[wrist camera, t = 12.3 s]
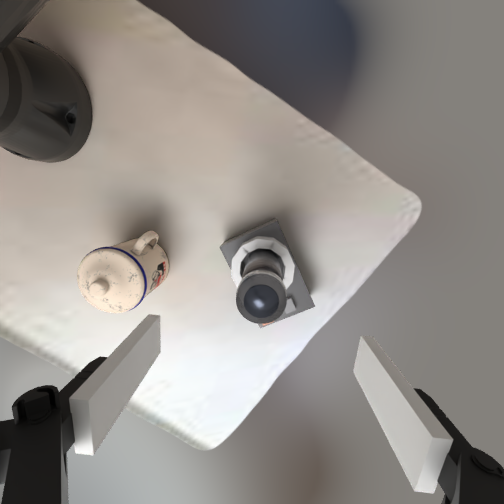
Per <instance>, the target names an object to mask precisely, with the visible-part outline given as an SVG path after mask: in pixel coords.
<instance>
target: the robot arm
mask: <svg viewBox="0 0 504 504" xmlns="http://www.w3.org/2000/svg"><path fill="white" fill-rule="evenodd" d="M48 1H49V0H0V146H1V147H3V148H4V149H6V150H7V151H9V152H11V153H13V154H15V155H17V156H20V157H22V158H26V159H29V160H35V161H41V162H59V161H63V160H66V159H68V158H70V157H72V156H73V155H74V154H76V153H77V152H78V151H79V150H80V149H81V147H82V146H83V145H84V143H85V141H86V139H87V137H88V135H89V132H90V127H91V121H92V111H91V103H90V99H89V95H88V92H87V89H86V87H85V85H84V83H83V81H82V79H81V78H80V76H79V75H78V73H77V72H76V71H75V69H74V68H73V67H72V66H71V65H70V64H69V63H68V62H67V61H66V60H64V59H63V58H62V57H60V56H59V55H57V54H56V53H54V52H53V51H52V50H50V49H49V48H47V47H45V46H44V45H42V44H40V43H38V42H35V41H33V40H29V39H26V38H21V37H16V36H17V35H18V34H19V33H20V32H21V31H22V30H23V29H24V27H25V26H26V25H27V24H28V23H29V22H30V21H31V20H32V19H33V18H34V16H35V15H36V14H37V13H38V12H39V11H40V10H41V9H42V8H43V7H44V6H45V4H46V3H47V2H48ZM159 353H160V315H150V314H149V315H148V316H147V317H146V318H145V319H144V320H143V321H142V322H141V323H140V324H139V325H138V326H137V327H136V328H135V329H134V330H133V331H132V333H131V334H130V335H129V336H128V337H127V338H126V339H125V340H124V341H123V342H122V343H121V344H120V345H119V346H118V347H117V348H116V349H115V350H114V352H113V353H112V354H111V355H110V356H109V357H98V358H97V359H95V360H93V361H92V362H90V363H89V364H88V365H87V366H86V367H85V368H84V369H82V370H81V372H79V373H78V374H77V375H76V376H75V378H74V379H72V380H71V381H70V382H69V383H68V384H67V385H66V386H65V387H64V388H63V389H62V390H61V391H60V392H59V391H58V389H57V387H55V386H52V385H45V386H41V387H37V388H34V389H32V390H30V391H28V392H26V393H24V394H23V395H21V396H20V397H19V398H18V399H17V400H16V401H15V402H14V404H13V406H12V411H13V416H14V419H11V420H6V421H0V484H4V483H5V486H4V491H3V497H2V503H1V504H68V475H67V474H68V472H67V451H68V450H69V449H70V447H71V446H72V445H73V443H74V445H75V453H77V454H86V455H94V454H95V452H96V451H97V449H98V448H99V446H100V445H101V443H102V442H103V440H104V439H105V437H106V435H107V434H108V432H109V431H110V429H111V428H112V426H113V425H114V423H115V421H116V420H117V418H118V417H119V415H120V414H121V412H122V411H123V409H124V408H125V406H126V404H127V403H128V401H129V400H130V398H131V397H132V395H133V394H134V392H135V391H136V389H137V387H138V386H139V384H140V383H141V381H142V380H143V378H144V377H145V375H146V374H147V372H148V370H149V369H150V367H151V366H152V364H153V363H154V361H155V360H156V358H157V357H158V355H159ZM353 372H354V374H355V376H356V378H357V380H358V382H359V384H360V386H361V388H362V390H363V392H364V394H365V396H366V398H367V400H368V402H369V404H370V406H371V408H372V409H373V412H374V413H375V415H376V417H377V419H378V421H379V423H380V425H381V427H382V429H383V431H384V433H385V435H386V437H387V439H388V441H389V443H390V444H391V446H392V448H393V450H394V452H395V454H396V456H397V458H398V460H399V462H400V464H401V466H402V468H403V470H404V472H405V474H406V475H407V478H408V480H409V482H410V484H411V485H412V487H413V489H414V491H417V492H425V493H434V491H435V489H436V486H437V483H439V484H440V486H441V488H442V489H443V491H444V493H445V495H444V498H443V501H442V503H441V504H504V469H503V467H502V466H501V465H500V464H499V463H498V462H497V461H496V460H495V459H493V458H492V457H491V456H489V455H488V454H486V453H485V452H483V451H481V450H478V449H476V448H473V447H472V446H471V445H470V444H469V443H468V441H467V440H466V439H465V438H464V436H463V435H462V434H461V433H460V432H459V430H458V429H457V428H456V427H455V426H454V424H453V423H452V422H451V421H450V420H449V419H448V418H447V417H446V415H445V414H444V412H443V411H442V410H441V409H439V406H438V405H437V404H436V403H435V402H434V400H433V399H432V398H431V397H430V396H428V395H427V394H426V393H425V392H423V391H422V390H421V389H414V388H413V387H412V386H411V385H410V384H409V382H408V381H407V380H406V378H405V377H404V376H403V375H402V373H401V372H400V371H399V369H398V368H397V367H396V366H395V364H394V363H393V362H392V360H391V359H390V358H389V357H388V355H387V354H386V353H385V351H384V350H383V349H382V348H381V347H380V345H379V344H378V343H377V341H376V340H375V339H374V338H373V337H370V336H361V338H360V343H359V347H358V352H357V357H356V361H355V366H354V370H353Z"/></svg>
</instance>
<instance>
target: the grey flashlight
mask: <svg viewBox="0 0 504 504" xmlns="http://www.w3.org/2000/svg"><path fill="white" fill-rule="evenodd" d="M236 304H237V308H238V310H239V312H240V313H241V314H242V316H243V317H244V318H246V319H247V320H249V321H251V322H253V323H258V324H266V323H270V322H273V321H275V320H277V319H278V318H279V317H280V316H281V315H282V314H283V312H284V310H285V308H286V304H287V292H286V287H285V285H284V283H283V278H282V273H281V268H280V263H279V258H278V256H277V254H276V253H275V252H274V251H272V250H271V249H261V248H258V249H256V250H254V251H252V252H251V253H250V254H249V256H248V259H247V262H246V266H245V269H244V272H243V276H242V279H241V281H240V283H239V286H238V289H237V293H236Z"/></svg>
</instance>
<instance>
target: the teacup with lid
mask: <svg viewBox="0 0 504 504" xmlns="http://www.w3.org/2000/svg"><path fill="white" fill-rule="evenodd" d="M158 238H159V236H158V234H157V233H155V232H154V231H148V232H146V233H144V234H143V235H142V236H141V237H140V238H138V239H133V240H129V241H126V242H123V243H120V244H117V245H114V246H110V247H102V248H98V249H95V250H93V251H91V252H90V253H89V254H88V255H86V257H85V258H84V259H83V260H82V262H81V263H80V265H79V268H78V272H77V281H78V286H79V289H80V291H81V293H82V295H83V296H84V298H85V299H86V300H87V301H88V302H89V303H90V304H91V305H93V306H94V307H96V308H97V309H99V310H102V311H105V312H109V313H122V312H126V311H129V310H132V309H133V308H135V307H136V306H138V305H139V304H140V303H141V301H142V300H143V298H144V297H146V296H147V295H148V294H149V293H150V292H151V291H153V290H154V289H155V288H156V287H157V286H159V285H160V284H161V283H162V282H163V281H164V280H165V278H166V276H167V274H168V270H169V263H168V258H167V256H166V254H165V252H164V251H163V249H162V248H161V247H160V246H159V245H158V244H156V243H157V241H158Z"/></svg>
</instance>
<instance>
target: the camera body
mask: <svg viewBox="0 0 504 504" xmlns="http://www.w3.org/2000/svg"><path fill="white" fill-rule="evenodd" d="M258 248H261V249H271V250H272V251H274V252H275V253H276V254H277V256H278V258H279V263H280V268H281V273H282V278H283V283H284V285H285V287H286V292H287V304H286V308H285V310H284V312H283V314H282V315H281V316H280V317H279V318H278V319H277V320H275V321H273V322H270V323H266V324H258V325H259V327H260V328H262V327H265V326H267V325H270V324H272V323H275V322H277V321H280V320H282V319H285V318H287V317H290V316H292V315H295V314H298V313H300V312H303V311H305V310H308V309H310V308H313V307H315V305H314V303H313V300H312V298H311V296H310V294H309V291H308V289H307V287H306V285H305V282H304V280H303V278H302V276H301V273H300V271H299V269H298V267H297V264H296V262H295V260H294V258H293V255H292V253H291V251H290V248H289V246H288V244H287V242H286V239H285V237H284V235H283V233H282V230H281V228H280V226H279V224H278V221H277V219H276V218H275V219H273V220H271V221H269V222H267V223H265V224H262V225H260V226H258V227H256V228H254V229H252V230H249V231H247V232H245V233H243V234H241V235H238V236H236V237H234V238H232V239H230V240H228V241H225V242H224V243H223V244H222V245H221V246H220V249H221V251H222V253H223V255H224V257H225V259H226V261H227V263H228V265H229V267H230V269H231V277H232V279H233V281H234V283H235V285H236V287H237V289H238V286H239V283H240V281H241V279H242V276H243V272H244V269H245V266H246V262H247V259H248V256H249V254H250V253H251V252H252V251H254V250H256V249H258Z"/></svg>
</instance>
